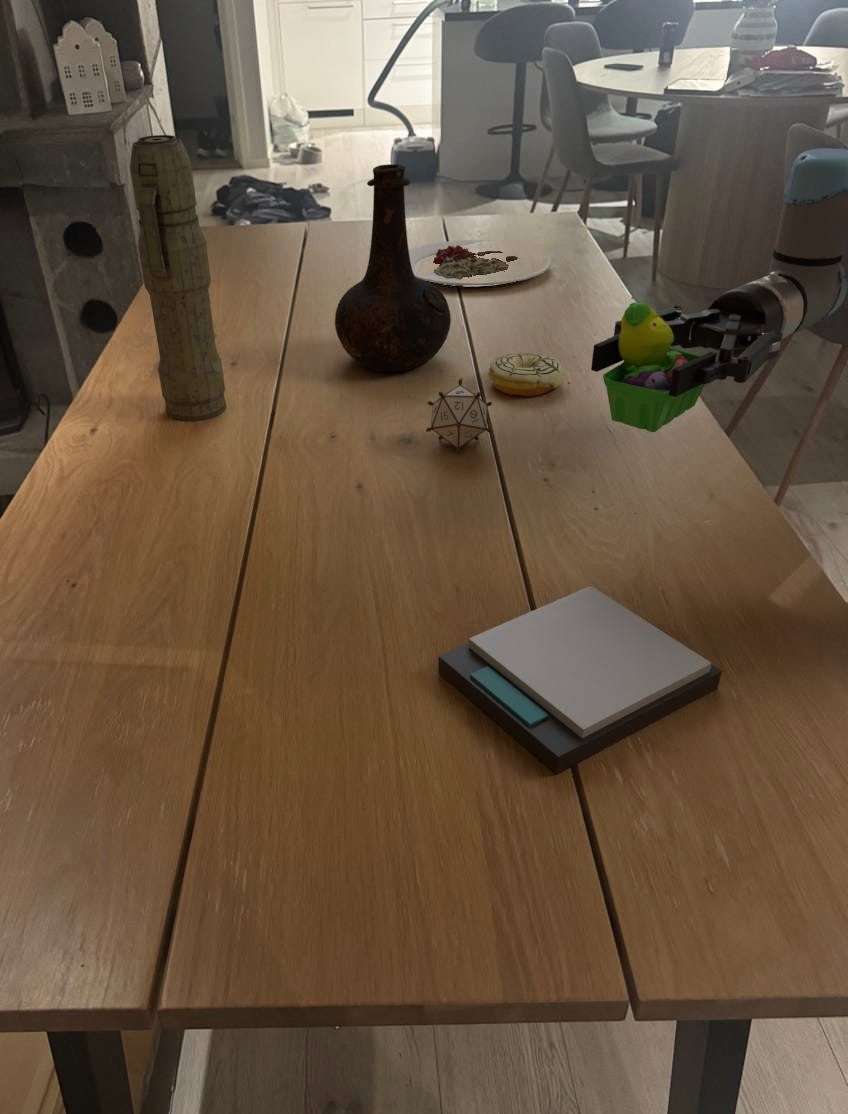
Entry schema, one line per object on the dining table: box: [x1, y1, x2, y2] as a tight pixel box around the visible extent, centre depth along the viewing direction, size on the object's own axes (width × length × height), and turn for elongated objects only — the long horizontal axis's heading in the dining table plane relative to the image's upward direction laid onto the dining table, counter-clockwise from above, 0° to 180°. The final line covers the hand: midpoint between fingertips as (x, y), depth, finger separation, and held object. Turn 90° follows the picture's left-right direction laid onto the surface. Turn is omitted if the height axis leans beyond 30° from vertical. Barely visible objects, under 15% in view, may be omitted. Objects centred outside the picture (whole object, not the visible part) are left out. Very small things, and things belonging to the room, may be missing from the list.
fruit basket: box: [602, 301, 706, 433], centre depth 100 cm, size 11×9×11 cm
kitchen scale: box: [437, 585, 723, 776], centre depth 85 cm, size 16×19×3 cm
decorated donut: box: [488, 352, 565, 397], centre depth 140 cm, size 10×11×4 cm
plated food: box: [409, 239, 552, 286], centre depth 187 cm, size 30×30×3 cm
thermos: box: [129, 134, 227, 421], centre depth 128 cm, size 9×12×35 cm
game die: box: [425, 377, 493, 456], centre depth 124 cm, size 9×8×10 cm
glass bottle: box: [334, 163, 452, 373], centre depth 142 cm, size 18×18×28 cm
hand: (633, 370), depth 98 cm, fingers closed on fruit basket, 9 cm apart
